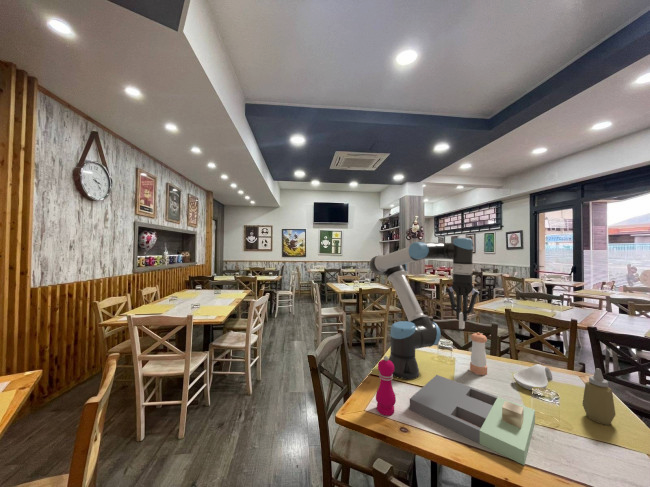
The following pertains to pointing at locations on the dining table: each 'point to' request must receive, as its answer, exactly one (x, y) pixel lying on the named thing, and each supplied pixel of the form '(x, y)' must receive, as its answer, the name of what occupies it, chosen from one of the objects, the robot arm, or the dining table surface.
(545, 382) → the spoon rest
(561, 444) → the dining table surface
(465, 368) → the dining table surface
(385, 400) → the pepper mill
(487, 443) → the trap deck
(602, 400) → the squeeze bottle
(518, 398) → the dining table surface
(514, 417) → the birch block
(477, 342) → the salt shaker
